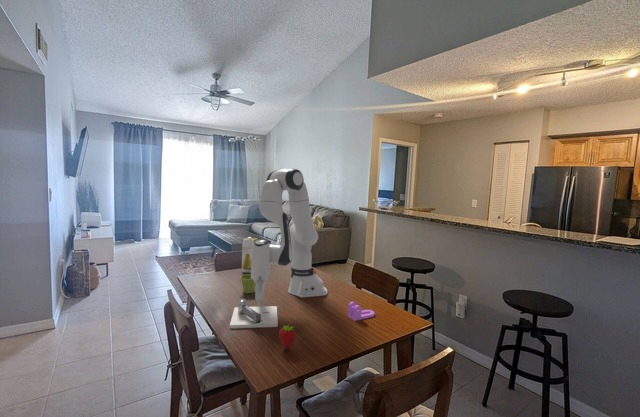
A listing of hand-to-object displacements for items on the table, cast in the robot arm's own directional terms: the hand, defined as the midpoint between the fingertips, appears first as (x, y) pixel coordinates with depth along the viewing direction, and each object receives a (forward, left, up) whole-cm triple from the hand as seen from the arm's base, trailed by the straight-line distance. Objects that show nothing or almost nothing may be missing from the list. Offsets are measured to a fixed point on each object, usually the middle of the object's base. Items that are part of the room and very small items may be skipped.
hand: (259, 302), depth 144 cm
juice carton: (+9, -62, -4) cm, 63 cm away
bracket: (-49, +9, -5) cm, 50 cm away
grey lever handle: (+4, +12, -2) cm, 13 cm away
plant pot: (+7, -25, -4) cm, 26 cm away
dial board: (+2, +8, -4) cm, 9 cm away
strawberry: (-11, +34, -4) cm, 36 cm away
